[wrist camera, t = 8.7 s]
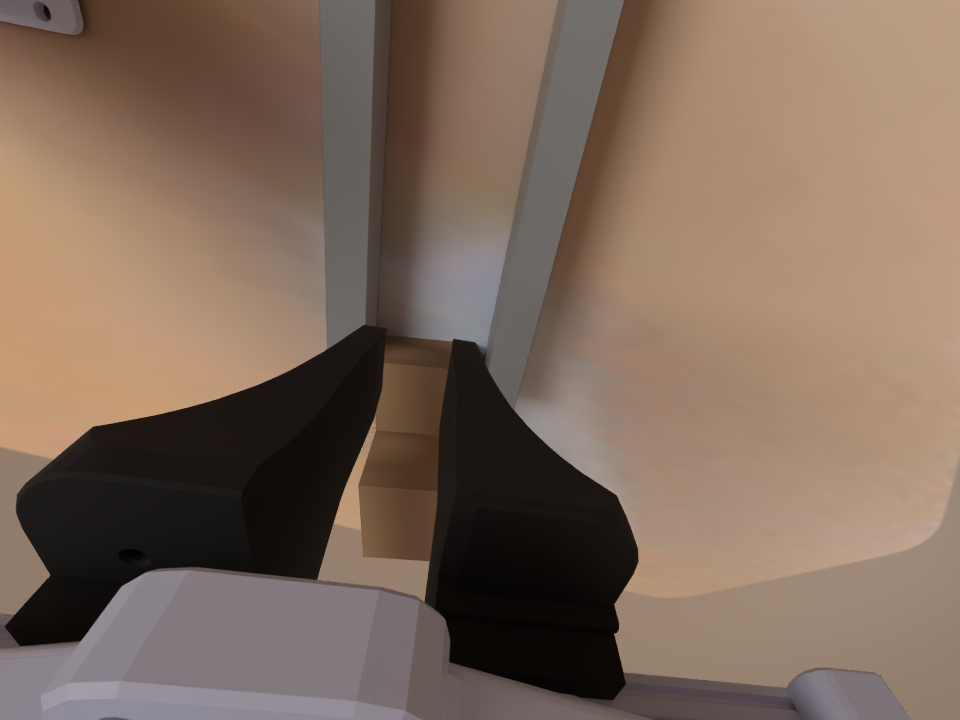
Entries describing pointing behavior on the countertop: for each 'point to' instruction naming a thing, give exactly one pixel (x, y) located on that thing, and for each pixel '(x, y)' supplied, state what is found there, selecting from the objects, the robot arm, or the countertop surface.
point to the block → (405, 451)
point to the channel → (361, 152)
